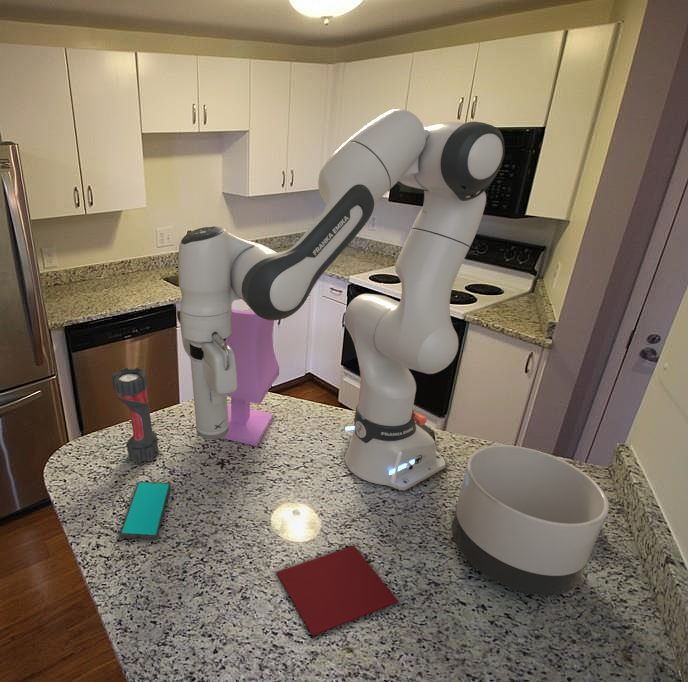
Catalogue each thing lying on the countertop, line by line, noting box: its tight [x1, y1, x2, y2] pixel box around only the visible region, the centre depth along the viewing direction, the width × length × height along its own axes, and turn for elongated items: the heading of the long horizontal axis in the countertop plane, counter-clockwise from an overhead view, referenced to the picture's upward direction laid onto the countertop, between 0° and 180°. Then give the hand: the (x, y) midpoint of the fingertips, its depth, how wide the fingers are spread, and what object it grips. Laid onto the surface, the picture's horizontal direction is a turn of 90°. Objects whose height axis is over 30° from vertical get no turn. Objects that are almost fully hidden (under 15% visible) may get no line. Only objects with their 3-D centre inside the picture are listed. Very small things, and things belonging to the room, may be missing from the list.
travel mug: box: [189, 338, 229, 440], centre depth 86 cm, size 6×7×20 cm
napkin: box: [276, 545, 399, 637], centre depth 79 cm, size 16×12×1 cm
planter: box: [451, 444, 610, 597], centre depth 80 cm, size 19×19×18 cm
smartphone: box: [119, 481, 171, 541], centre depth 96 cm, size 7×1×15 cm
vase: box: [220, 308, 280, 447], centre depth 116 cm, size 16×16×35 cm
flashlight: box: [111, 366, 160, 464], centre depth 108 cm, size 8×8×23 cm
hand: (209, 392), depth 87 cm, fingers closed on travel mug, 6 cm apart
